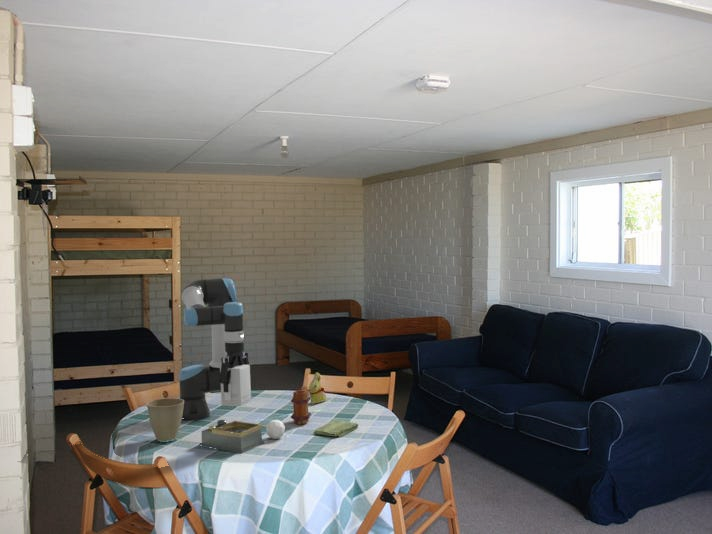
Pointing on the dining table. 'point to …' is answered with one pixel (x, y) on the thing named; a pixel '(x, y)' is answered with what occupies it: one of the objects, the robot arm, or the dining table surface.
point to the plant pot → (165, 417)
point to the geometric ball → (275, 429)
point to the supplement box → (238, 386)
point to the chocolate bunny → (316, 390)
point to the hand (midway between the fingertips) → (236, 397)
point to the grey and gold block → (233, 436)
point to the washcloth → (336, 428)
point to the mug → (301, 406)
